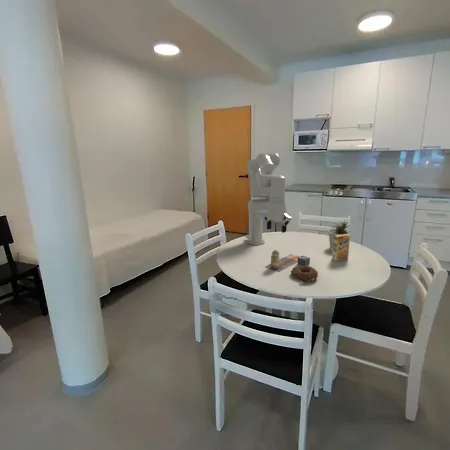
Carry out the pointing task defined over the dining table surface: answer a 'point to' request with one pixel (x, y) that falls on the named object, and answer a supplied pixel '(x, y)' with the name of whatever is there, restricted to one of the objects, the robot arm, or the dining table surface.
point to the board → (285, 262)
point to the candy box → (340, 247)
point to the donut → (304, 273)
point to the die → (303, 260)
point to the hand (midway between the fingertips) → (276, 230)
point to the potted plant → (337, 232)
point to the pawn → (275, 260)
